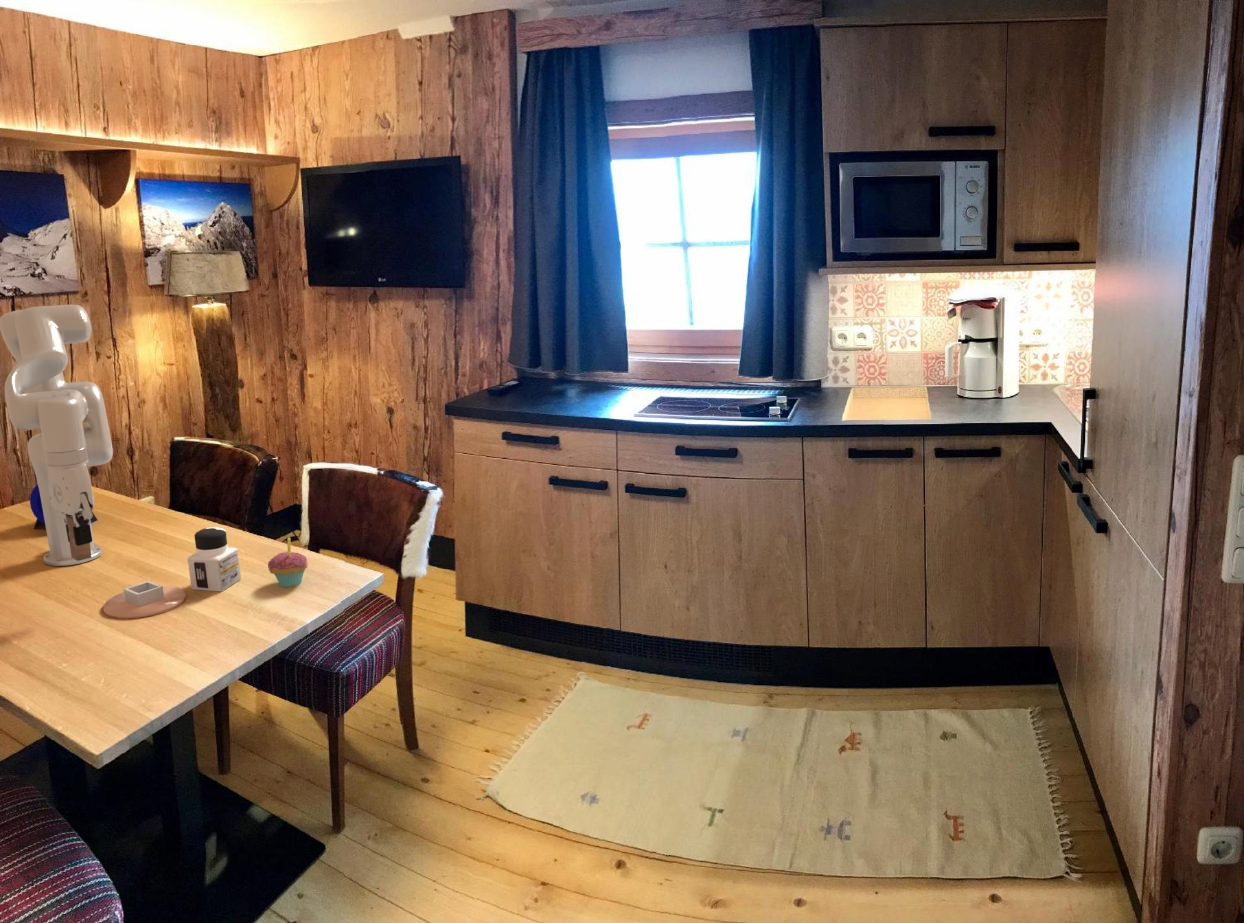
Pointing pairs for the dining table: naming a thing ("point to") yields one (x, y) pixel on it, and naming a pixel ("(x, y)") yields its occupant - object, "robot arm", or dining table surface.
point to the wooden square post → (76, 551)
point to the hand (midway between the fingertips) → (80, 541)
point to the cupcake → (288, 567)
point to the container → (213, 561)
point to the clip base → (144, 601)
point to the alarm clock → (38, 510)
